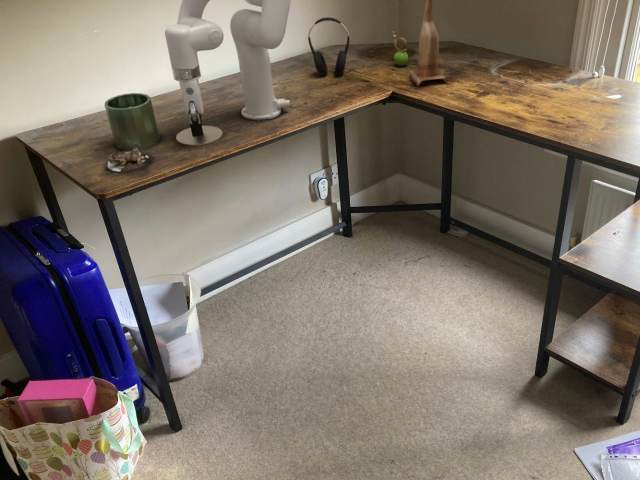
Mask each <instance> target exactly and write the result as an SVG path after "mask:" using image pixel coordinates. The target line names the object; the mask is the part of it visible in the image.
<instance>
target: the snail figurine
mask: <svg viewBox="0 0 640 480" xmlns="http://www.w3.org/2000/svg"><path fill="white" fill-rule="evenodd" d="M391 33H392V40H393V41H392V42H393V45H394V48H395V49H396V50H397V51H396V52H395V54H394V55H393V61H394V63H395V65H396V66H399V67H403V66H405V65H407V63H408V62H409V55H408V53H407V52H406V51H407V50H408V49H407V47H408V46H407V44H408V43H407V40H406V39H405V38H404V37H398V38H397V35H396V34H395V30H394V31H391Z"/></svg>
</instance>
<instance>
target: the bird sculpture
mask: <svg viewBox="0 0 640 480" xmlns="http://www.w3.org/2000/svg"><path fill="white" fill-rule="evenodd" d="M425 1H426V2H425V6H424V11H423V12H424V13H423V19H422V24H421V28H420V34H419V41H418V62H417V63H418V64H417V68H416V69H410V70H409V72H408V77H409V78H410V79H411V80H412V81H413V83H415V85H416V86H417V87H420V84H421V83H423V82H424V81H430V80H443V81H444V82H445V83H446V84H449V83H448V82H449V80H448V78H447V77H446V76H445V75H444V74H443V73H442V72H441V71H440V70H439V56H440V55H439V54H440V53H439V52H440V37H439V33H438V29H437V28H436V25H435V23H434V16H433V0H425Z"/></svg>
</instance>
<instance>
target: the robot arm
mask: <svg viewBox="0 0 640 480" xmlns="http://www.w3.org/2000/svg"><path fill="white" fill-rule="evenodd" d="M210 1H211V0H182V1H181V3H180V7H179V12H178V17H177V22H176V23H177V24H174V25H169V26H168V27H167V28H165V30H164V35H165V36H164V37H165V40H166V41H165V42H166V47H167V51H168V55H169V61H170V67H171V71H172V76H173V80H174V81H176V82H178V84H179V89H180V93H181V94H180V95H181V97H182V103H183V106H184V109H185V113H186V115H187V116H188V117H189V121H190V122H189V126H190V127H189V128H191V132H192V136H193V137H198V136H203V129H202V126H203V119H202V115H203V114H204V113H205V110H204V102H203V97H202V93H201V92H202V91H201V87H200V82H199V79H201V77H202V74H201V68H200V63H199V62H200V61H199V55H198V52H204V51H205V52H206V51H212V50H216V49H217V48H219V47H220V46H221V45H222V43H223V42H224V38H225V37H224V35H225V34H224V31H223V29H222V28H221V27H220V25H218V24H217V23H216V22H214V21H210V20H206V19H204V18H203V14H204V12H205V9H206V7H207V5H208V4H209V2H210ZM244 2H246V3H247V4H249V5H251V6H255V7H259V8H261V11H258V10H254V9H248V8H244V9H243V8H242V9H238V10H236V11H235V12H234V13H233V15H232V16H231V19H230V21H229V29H230V33H231V37H232V40H233V43H234V46H235V49H236V54H237V59H238V65H239V73H240V80H241V86H242V92H243V99H244V106H245V107H243V108H241V111H240V112H241V116H242V117H243V118H245V119H248V120H267V119H269V120H270V119H271V120H272V119H274V118H277V117H278V116H279V115H280V114H281V113H282V109H281V108H282V107H284V108H285V107H291V102H290V99H285V98H276V96H275V92H274V91H275V90H274V83H273V82H274V81H273V74H272V67H271V59H270V58H271V57H270V53H269V50H274V49H277V48H278V47H279V46H280V45H281V44H282V42H283V39H284V37H285V34H286V30H287V24H288V19H289V13H290V9H291V2H292V0H244ZM200 119H201V122H200Z"/></svg>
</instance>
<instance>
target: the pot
mask: <svg viewBox="0 0 640 480" xmlns="http://www.w3.org/2000/svg"><path fill="white" fill-rule="evenodd" d="M103 106H104V109H105V112H106V116H107V119H108V123H109V126H110V130H111V134H112V137H113V140H114V145H115V146H116V147H117V148H118V149H120V150H122V151H124V150H133V149H135V148H138V149H144V148H147V147H150V146H152V145H154V144H156V143H157V142H158V141H159V140H160V139H161V137H160V135H161V134H160V131H159V127H158V123H157V119H156V114H155V110H154V106H153V101H152V98H151V97H150V96H149V95H148V94H146V93H141V92H140V93H139V92H131V93H130V92H129V93H123V94H117V95H115V96H113V97H109V98H108V99H107V100H106V101H104V105H103ZM129 107H131V108H129Z"/></svg>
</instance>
